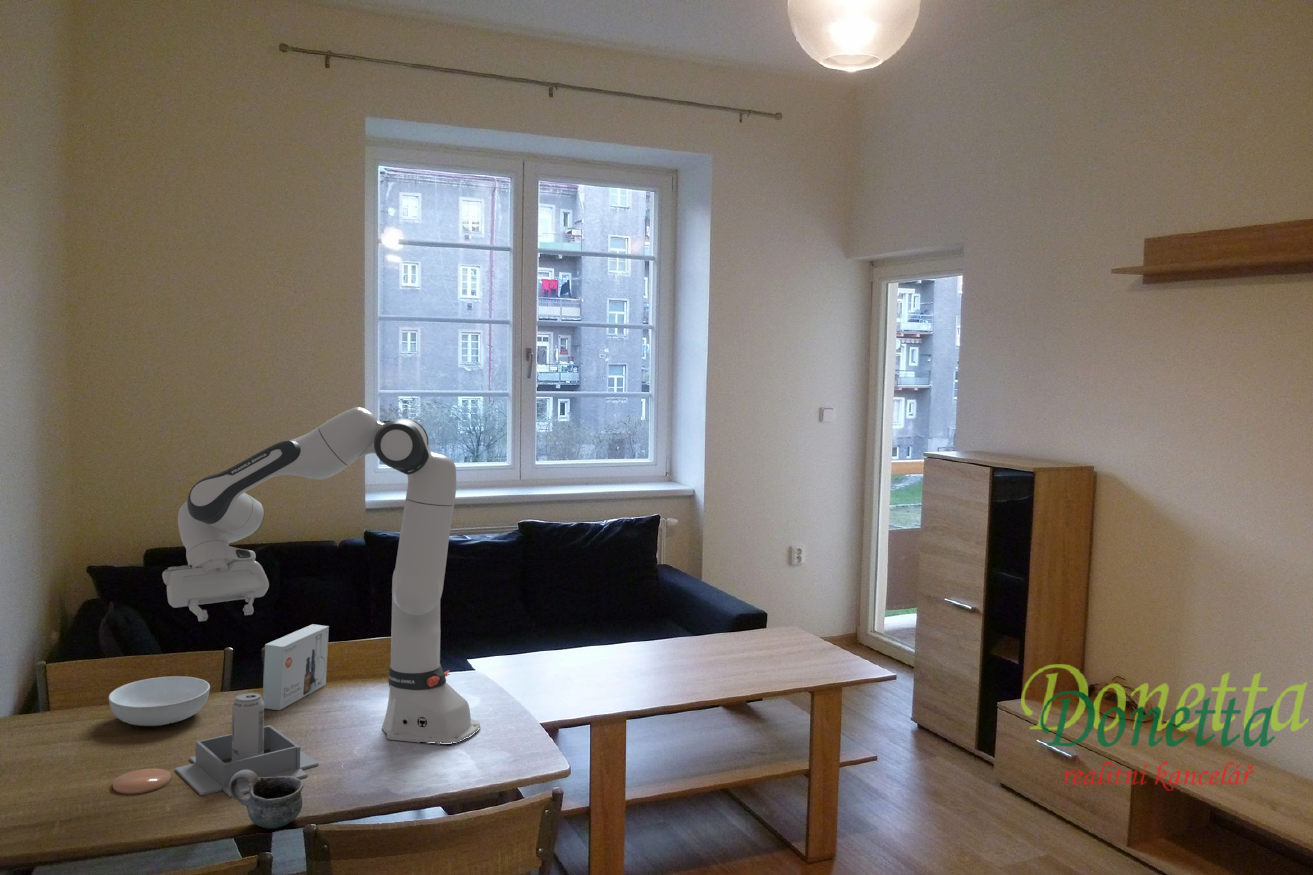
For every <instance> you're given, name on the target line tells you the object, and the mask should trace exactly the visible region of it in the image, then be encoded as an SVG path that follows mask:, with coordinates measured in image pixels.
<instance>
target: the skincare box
mask: <svg viewBox="0 0 1313 875" xmlns="http://www.w3.org/2000/svg"><path fill="white" fill-rule="evenodd" d="M329 628H330V626H329V625H321V624H314V623H312V624H310V625H308V626H305V627H303V628H301V629H297V630H295V631H293V632H291V633H288V634H286V635H284V636H282V637H280V638H276V639H275V640H272V641H270V642H268V643H265V645H264V665H263V681H262V684H263V685H262V700H263V701H264V709H267V710H275V711H282V710H283V709H285V708H286V707H289V706H291V705H292V704H294V703H295V702H298V701H299V700H301V699H303V698H305V697H306V696H308V695H310V694H312V693H314V692H315V691H317V690H319V689H320V688H323V687H325V686H327V666H328V647H329V630H330V629H329Z"/></svg>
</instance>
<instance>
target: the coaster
mask: <svg viewBox="0 0 1313 875" xmlns="http://www.w3.org/2000/svg"><path fill="white" fill-rule="evenodd" d="M171 778H172V776H171V772H170V771H169V770H166V769H163V768H153V767H152V768H150V767H149V768H141V769H136V770H132V771H128V772H126V773H123V774H121V775H119V776H117V777H116V778H115V779H114V780H113V782H112V789H113V790H114V791H115V792H117V793H119V794H128V795H134V794H136V795H137V794H144V793H148V792H152V791H155V790H158V789H161V788H163V787H165V786H167V785H168V784H169V783H170V781H171Z"/></svg>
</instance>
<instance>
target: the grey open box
mask: <svg viewBox="0 0 1313 875" xmlns="http://www.w3.org/2000/svg"><path fill="white" fill-rule="evenodd" d="M266 750H268V751H269V752H266V753H264V754H261V755H257V756H253V757H249V758H245V759H241V760H237V761H232V760H231V761H229V762H224V761H225V760H229V759H232V733H229V734H225V735H219V736H216V737H210V738H205V739H202V740H195V755H191V756H189V758H188V759H189V760H190V761H191V762H192V763H191V764H186V765H182V766H177V767H175V768H174V771H175V772H176V773H177V774H178V775H179V776H180V777H181V778H182V779H184V781H185V782H186V783H188V785H189V786H190V787H191V788H192V789H193V790H194V791H196V792H197V793H198V794H199V795H200V796H205V795H209V794H214V793H217V792H220V791H222V792H224V793H225V794H226V795H227V796H228V797H229V798H232V797H233V796H232V795H231V793H230V790H229V783H230V780H231V778H232V777H233V776H234V775H235V774H236V773H237V772H239V771H241V770H251V771H253V772H254V773H255V774H256V775H257V777H273V778H275V777H279V776H289V777H294V778H297V779H300V780H302V779H304V778H307V777H308V775H309V774H308V773H307V772H306V771H305V769H309V768H313V767H317V766H318V767H319V762H318V761H316V760H315V759H313V758H312V757H311V756H309V755H308V754H307V753H305V752H304V751H302V749H301V746H300V745H298V743H296V742H294V741H293V740H292V739H290V738H289V737H287V736H286V735H285V734H283V733H282V732H280V731H279V730H278V729H276V728H275V727H274V726H273V725H271V724H267V725H264V751H266ZM237 787H238V788H239V790H240V791H241V792H242V793H243V794H244V795H245V794H247V793H250V788H249V783H248V780H246V779H244V778H239V779H237ZM233 798H234V797H233Z"/></svg>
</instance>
